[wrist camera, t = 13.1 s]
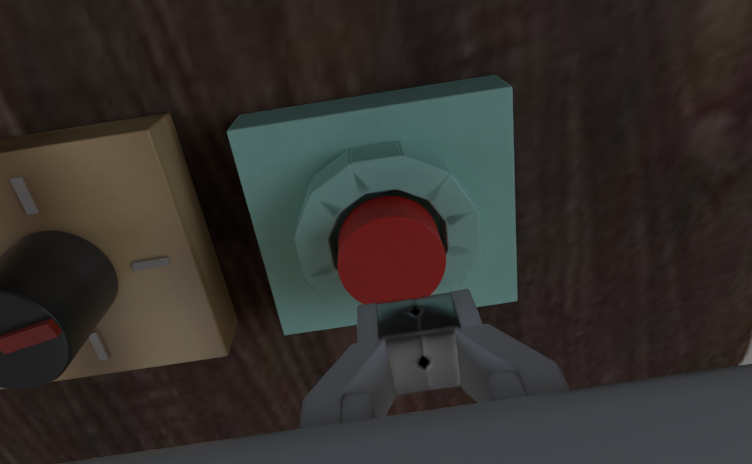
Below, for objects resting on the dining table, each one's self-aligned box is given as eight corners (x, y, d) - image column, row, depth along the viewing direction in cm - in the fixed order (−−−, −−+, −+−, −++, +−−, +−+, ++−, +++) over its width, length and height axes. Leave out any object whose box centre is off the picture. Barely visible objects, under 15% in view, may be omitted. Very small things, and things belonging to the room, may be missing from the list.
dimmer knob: (50, 330, 21) (-16, 410, 17) (-15, 249, 19) (-105, 319, 15) (138, 300, 21) (91, 376, 17) (80, 215, 19) (12, 278, 15)
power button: (347, 290, 20) (347, 317, 18) (329, 203, 18) (328, 225, 16) (442, 276, 19) (450, 302, 18) (433, 187, 18) (441, 208, 16)
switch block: (289, 305, 24) (278, 363, 20) (238, 114, 20) (214, 145, 16) (503, 273, 24) (530, 326, 20) (495, 74, 20) (528, 96, 16)
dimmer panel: (-10, 358, 25) (-48, 399, 22) (-133, 159, 20) (-198, 184, 18) (239, 321, 24) (227, 359, 22) (170, 111, 20) (146, 130, 17)
